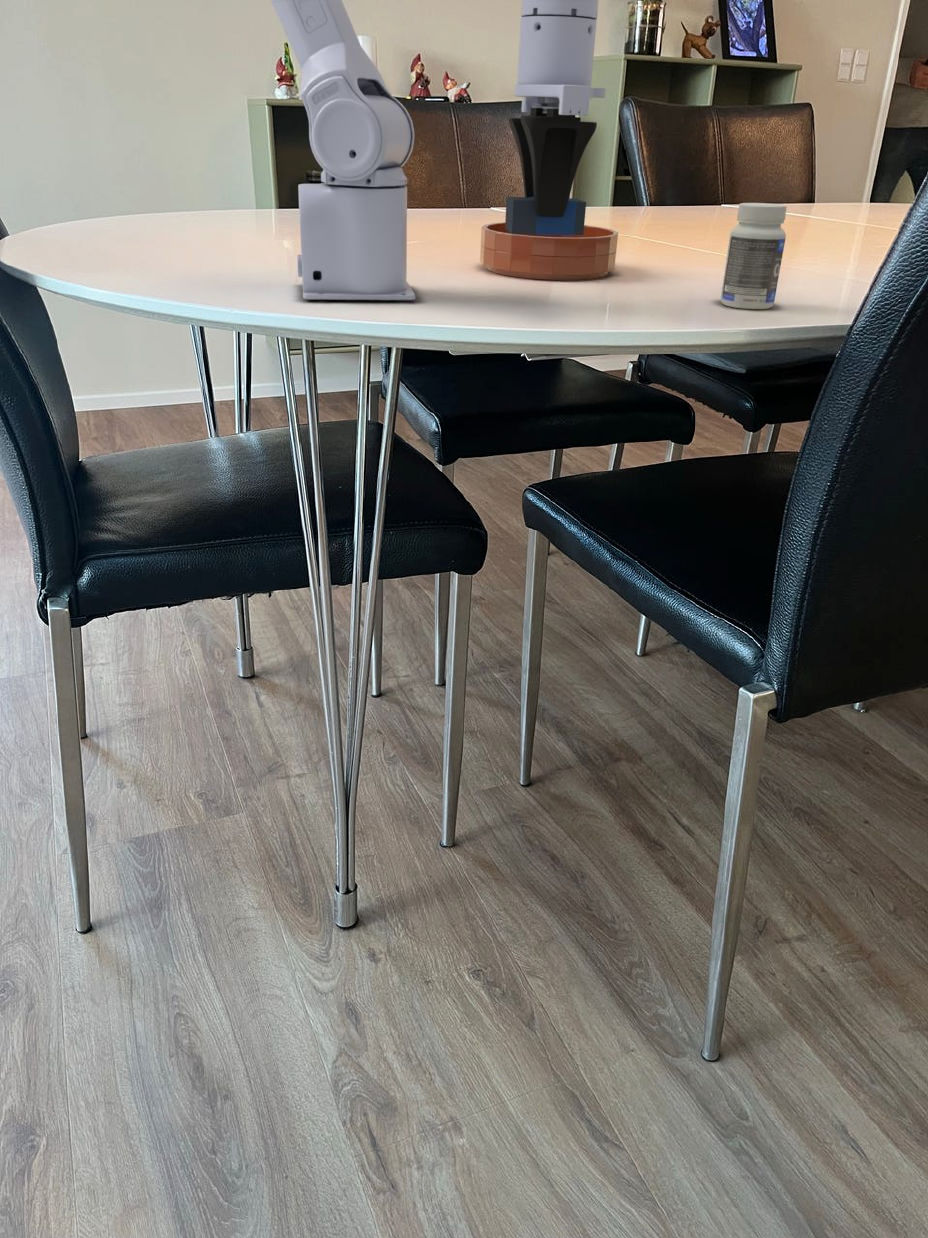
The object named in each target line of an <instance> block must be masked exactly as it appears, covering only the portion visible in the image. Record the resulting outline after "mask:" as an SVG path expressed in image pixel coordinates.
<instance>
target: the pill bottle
mask: <svg viewBox="0 0 928 1238" xmlns="http://www.w3.org/2000/svg"><path fill="white" fill-rule="evenodd" d="M786 213H787V205H786V204H779V203H770V202H769V203H767V202H766V203H765V202H742V203H741V202H740V203H739V205H738V209H737V215H736V218H737V219H736V221H737V222H738V225H736V226H734V227H733V228H732V229H731V230H730V234H729V240H728V247H727V254H726V261H725V267H724V274H723V281H722V287H721V292H720V302H721V304H722V305H724V306H726V307H730V308H736V309H745V310H746V309H747V310H767V309H771V308H772V307H773V306H774V304H775V299H776V295H777V289H778V288H777V287H778V283H779V276H780V272H781V265H782V260H783V255H784V249H785V243H786V237H787V234H786V231H785V230H784V229H783V228H782V224H784V223H785V220H786Z"/></svg>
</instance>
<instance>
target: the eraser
mask: <svg viewBox="0 0 928 1238" xmlns="http://www.w3.org/2000/svg"><path fill="white" fill-rule="evenodd" d="M586 209H587V201H584V200H581V199H579V198H570V197H569V199H568V203H567V206H566V209H565V212H564V215H563V217H538V216H537V214H536V210H535V203H534V197H525V196H506V200H505V221H504V222H505V229H506V230H507V231H509V232H510V233H512V234H536V235H571V236H573V235H583V234H584V225H585V222H586V212H587V211H586Z"/></svg>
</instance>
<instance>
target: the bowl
mask: <svg viewBox="0 0 928 1238" xmlns="http://www.w3.org/2000/svg"><path fill="white" fill-rule="evenodd" d="M480 230H481V231H480V233H481V234H480V253H479V254H480V255H479V262H480V263H481V264H482V265H483V266H486V270H488V271H489V272H492V273H495V274H498V275H502V276H507V277H515V278H522V279H531V280H542V281H543V280H544V281H584V280H594V279H600V278H603V277H606V276H607V275H608V273H609V272H612V271H614V270H615V267H616V259H617V250H618V249H617V248H618V238H619V231H617V230H614V229H612V228H611V229H610V228H607V227H602V226H596V225H587V224H584V234H583V235H573V236H571V235H536V234H512V233H510V232H509V231H507V230H506V229H505V221H503V222H493V223H487V224H483V226H481V229H480Z"/></svg>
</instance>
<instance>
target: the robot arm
mask: <svg viewBox="0 0 928 1238" xmlns="http://www.w3.org/2000/svg"><path fill="white" fill-rule="evenodd" d="M270 1H271V5H272V6H273V8H274V11H275V13H276V16H277V17H278V20H279V22H280V25H281V27H282V29H283V31H284V33H285V35H286V38H287V41H288V42H289V45H290V47H291V50H292V51H293V54H294V56H295V59H296V62H297V63H298V65H299V68H300V71H301V77H300V87H299V97H300V99H301V102H302V104H303V106H304V108H305V111H306V116H307V119H308V139H309V145H310V149H311V152H312V154H313V156H314V158H315V160H316V162H317V163H318V165H319V166H320V167H321V168H322V172H321V173H320V182H322V183H300V184H298V186H297V189H298V210H299V211H298V212H299V233H300V234H299V235H300V236H299V237H300V254H297V255H296V258H297V259H296V260H297V261H296V263H297V277H299V278H301V281H302V298H303V300H316V301H317V300H319V301H321V300H322V301H323V300H326V301H327V300H330V301H332V300H333V301H334V300H335V301H339V300H340V301H414V300H416V294H415V292H414V291H413V289H412V287H411V285H410V284H409V282H408V280H407V278H408V277H407V276H408V275H407V271H408V270H407V269H408V265H407V264H408V261H407V260H408V255H407V254H408V239H407V238H408V186H407V185H408V178H407V176H406V175H405V173H404V171H403V167H404V166H405V164H406V163H407V162H408V161H409V158H410V157H411V155H412V152H413V150H414V145H415V128H414V123H413V120H412V117H411V115H410V113H409V111H408V110H407V108H406V107H405V106H404V105H403V103H401V102H400V101H399V100H398V99H397V98H396V97H395V96H393V95H392V93H391V92H390V90H389V89H388V87H387V85H386V83H385V80H384V79H383V76H382V74H381V72H380V71H379V69H378V68H377V66H376V65H375V63H374V62H373V60H372V59H371V58H370V56H368V54H367V52H366V51H365V50H364V47H362V45H361V43H360V41H359V38H358V36H357V34H356V31H355V29H354V26H353V24H352V21H351V19H350V16H349V14H348V12H347V9H346V6H345V4H344V1H343V0H270ZM598 9H599V0H521V10H520V11H521V12H520V26H519V44H518V45H519V46H518V61H517V82H516V84H514V89H513V95H514V97H516V98H517V97H518V98H521V113H529V114H527V115H520V117H509V118H508V125H509V127H510V130H511V132H512V135H513V137H514V140H515V144H516V147H517V151H518V155H519V160H520V165H521V166H520V168H521V173H522V174H521V175H522V183H523V193H524V197H534V203H535V210H536V214H537V216H538V217H563V215H564V212H565V209H566V206H567V203H568V199H569V198H570V195H571V192H572V188H573V184H574V182H575V181H574V180H575V177H576V173H577V171H578V168H579V164H580V162H581V160H582V157H583V155H584V152H585V151H586V148H587V146H588V145H589V142H590V140H591V139H592V137H593V136H594V134H595V133H596V130H597V127H598V123H597V122H596V121H582V118H581V117H588V116H589V108H590V100H592V99H595V98H596V99H605V98H606V91H607V88H606V87H592V79H593V68H594V67H593V66H594V54H595V46H596V45H595V42H596V32H597V23H598V22H597V21H598V13H599V10H598ZM548 104H549V105H557V106H548Z"/></svg>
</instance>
